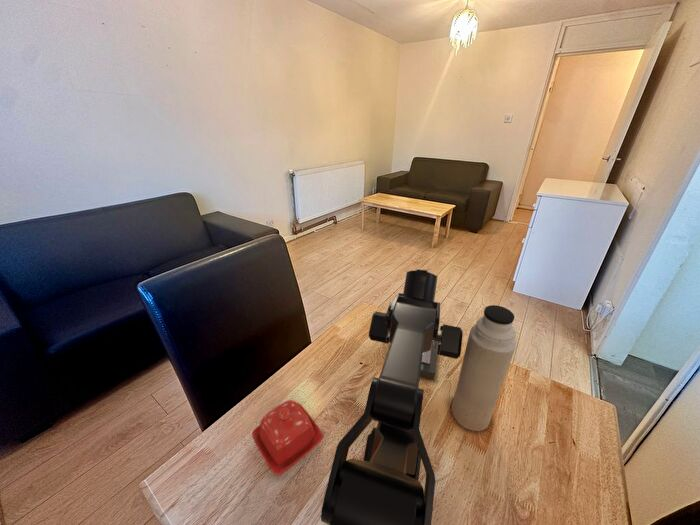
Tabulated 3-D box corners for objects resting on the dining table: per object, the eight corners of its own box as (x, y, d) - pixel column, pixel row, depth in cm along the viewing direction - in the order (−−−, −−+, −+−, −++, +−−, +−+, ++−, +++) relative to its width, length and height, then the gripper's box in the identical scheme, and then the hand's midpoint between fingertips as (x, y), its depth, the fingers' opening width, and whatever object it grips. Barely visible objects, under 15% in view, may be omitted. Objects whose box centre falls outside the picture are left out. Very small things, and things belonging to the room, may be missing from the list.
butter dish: (327, 441, 58) (325, 414, 54) (276, 483, 51) (270, 456, 48) (297, 403, 66) (294, 377, 62) (250, 435, 59) (242, 409, 55)
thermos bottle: (485, 401, 66) (517, 302, 54) (493, 434, 59) (532, 329, 47) (449, 395, 68) (472, 297, 55) (453, 427, 61) (480, 323, 48)
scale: (433, 380, 72) (435, 371, 70) (386, 368, 75) (387, 360, 74) (436, 347, 82) (437, 339, 80) (395, 338, 85) (395, 331, 84)
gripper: (471, 297, 53) (459, 311, 67) (373, 281, 58) (382, 298, 73) (464, 358, 50) (454, 360, 64) (362, 336, 55) (373, 342, 69)
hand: (414, 337), depth 68 cm, fingers open, 9 cm apart
